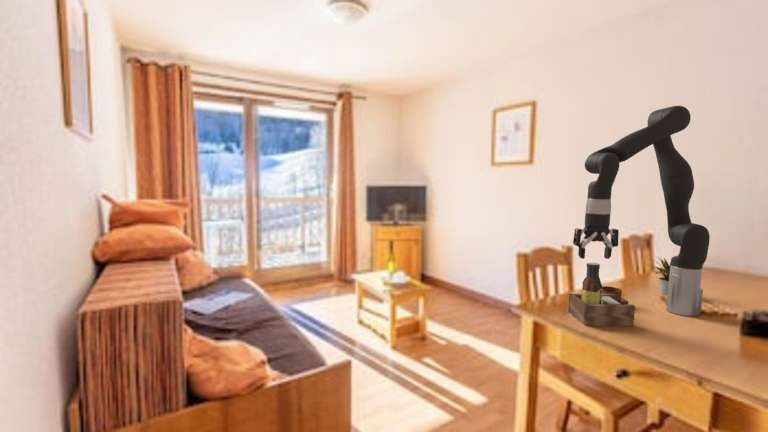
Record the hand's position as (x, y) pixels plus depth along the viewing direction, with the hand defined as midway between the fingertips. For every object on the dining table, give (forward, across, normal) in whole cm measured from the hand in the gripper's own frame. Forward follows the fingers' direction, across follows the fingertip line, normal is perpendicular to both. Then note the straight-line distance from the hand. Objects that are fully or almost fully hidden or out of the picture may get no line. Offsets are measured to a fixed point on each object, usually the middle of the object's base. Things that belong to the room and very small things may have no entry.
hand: (594, 258), depth 133 cm
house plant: (+22, -47, -29) cm, 60 cm away
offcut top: (+18, -6, 0) cm, 19 cm away
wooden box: (+22, -3, 0) cm, 22 cm away
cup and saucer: (+22, -16, -15) cm, 31 cm away
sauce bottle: (+22, 0, 0) cm, 22 cm away
